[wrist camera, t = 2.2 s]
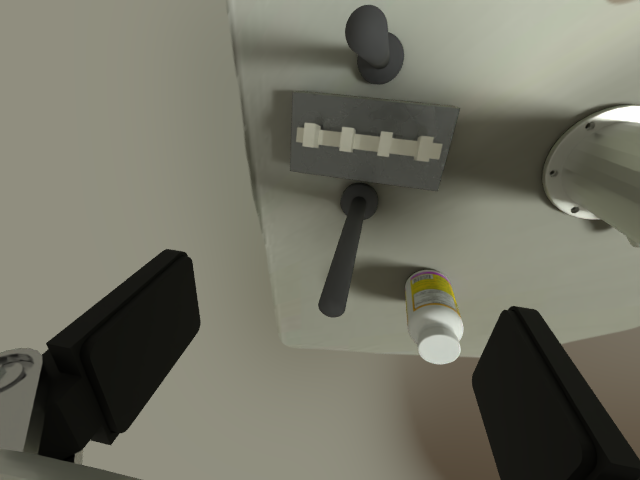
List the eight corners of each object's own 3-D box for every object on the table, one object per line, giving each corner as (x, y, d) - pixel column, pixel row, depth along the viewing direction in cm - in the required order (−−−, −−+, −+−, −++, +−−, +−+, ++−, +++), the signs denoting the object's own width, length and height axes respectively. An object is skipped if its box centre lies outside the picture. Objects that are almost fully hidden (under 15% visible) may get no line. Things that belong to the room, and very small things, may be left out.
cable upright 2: (385, 204, 42) (379, 316, 22) (356, 223, 45) (327, 341, 24) (363, 175, 41) (336, 266, 21) (334, 196, 43) (285, 297, 23)
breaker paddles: (441, 140, 34) (448, 138, 30) (436, 163, 34) (442, 163, 31) (299, 124, 36) (291, 121, 33) (297, 145, 37) (289, 144, 33)
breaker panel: (453, 105, 36) (460, 108, 32) (433, 181, 40) (437, 191, 36) (301, 90, 38) (292, 91, 35) (298, 163, 42) (290, 171, 39)
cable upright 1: (412, 62, 34) (442, 36, 14) (375, 93, 37) (356, 110, 16) (386, 21, 33) (378, -69, 13) (349, 57, 35) (294, 25, 15)
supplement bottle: (435, 310, 49) (448, 378, 37) (396, 293, 49) (398, 356, 37) (460, 278, 45) (482, 344, 34) (418, 260, 45) (427, 319, 34)
